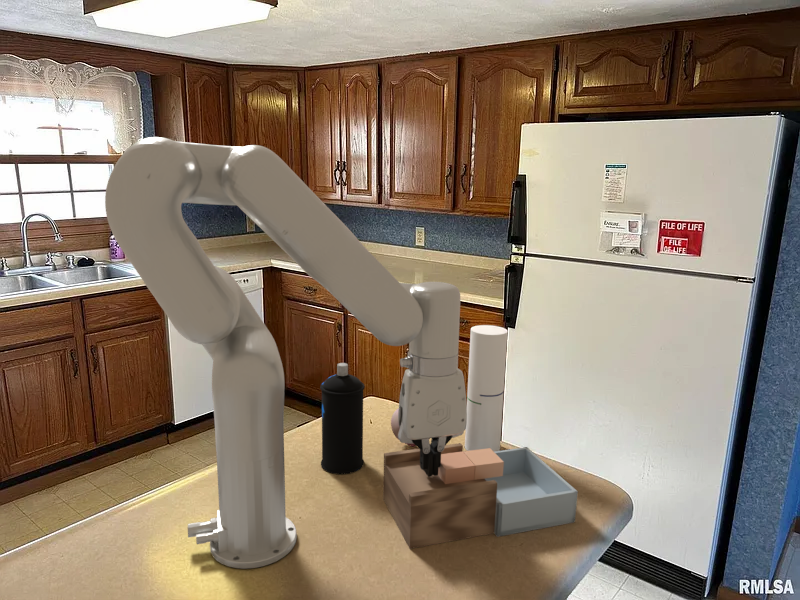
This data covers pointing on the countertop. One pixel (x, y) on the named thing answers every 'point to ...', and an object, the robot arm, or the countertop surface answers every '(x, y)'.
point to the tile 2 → (485, 463)
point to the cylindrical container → (485, 387)
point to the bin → (530, 494)
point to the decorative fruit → (397, 426)
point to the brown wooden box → (435, 501)
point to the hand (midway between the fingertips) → (429, 471)
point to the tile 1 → (456, 468)
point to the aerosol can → (342, 422)
